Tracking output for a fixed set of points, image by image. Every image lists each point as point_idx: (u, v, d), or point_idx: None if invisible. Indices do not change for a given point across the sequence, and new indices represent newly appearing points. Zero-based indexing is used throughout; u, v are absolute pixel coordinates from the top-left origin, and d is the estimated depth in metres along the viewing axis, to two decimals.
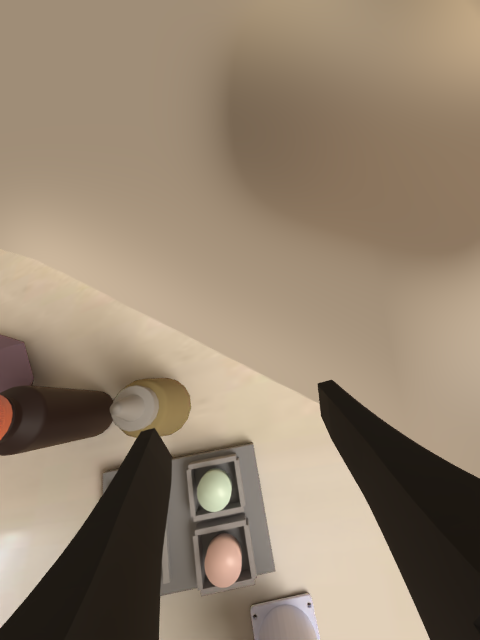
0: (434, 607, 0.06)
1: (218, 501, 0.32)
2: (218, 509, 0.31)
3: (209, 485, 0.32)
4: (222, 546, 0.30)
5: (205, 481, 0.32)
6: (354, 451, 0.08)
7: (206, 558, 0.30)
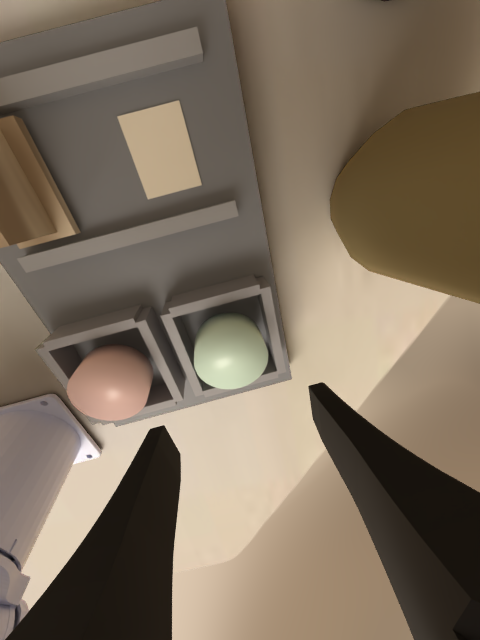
0: (418, 611, 0.06)
1: (214, 371, 0.15)
2: (200, 373, 0.15)
3: (242, 350, 0.15)
4: (137, 388, 0.15)
5: (249, 342, 0.14)
6: (343, 454, 0.08)
7: (107, 365, 0.14)
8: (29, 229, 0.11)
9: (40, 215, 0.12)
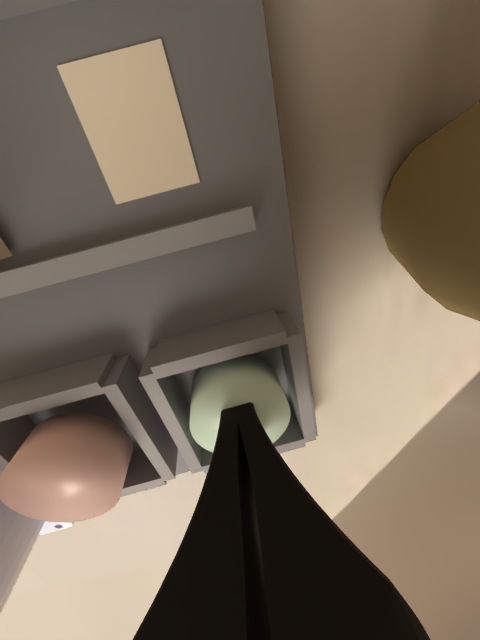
0: None
1: None
2: (198, 438, 0.11)
3: (256, 410, 0.11)
4: (105, 483, 0.10)
5: (266, 399, 0.10)
6: None
7: (55, 458, 0.09)
8: None
9: None
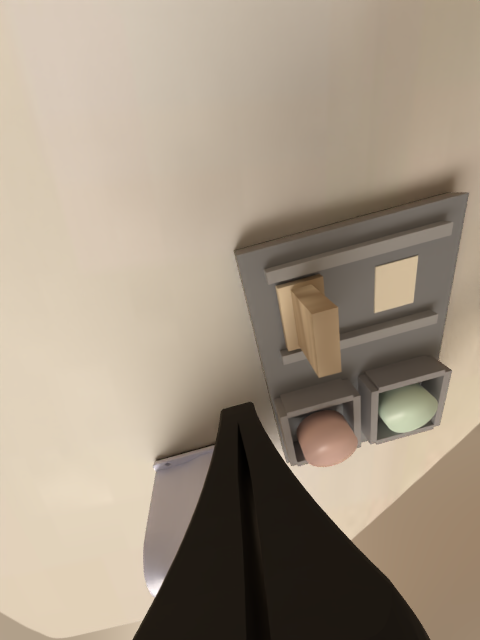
0: None
1: (398, 421, 0.21)
2: (389, 423, 0.21)
3: (421, 408, 0.21)
4: (351, 445, 0.20)
5: (428, 402, 0.20)
6: None
7: (340, 431, 0.19)
8: None
9: None
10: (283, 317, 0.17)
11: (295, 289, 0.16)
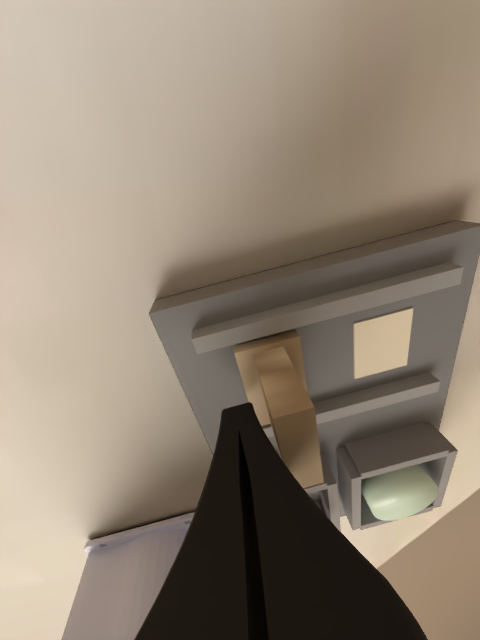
0: None
1: (387, 510, 0.16)
2: (375, 512, 0.16)
3: (418, 495, 0.16)
4: None
5: (426, 488, 0.16)
6: None
7: None
8: None
9: None
10: (245, 388, 0.12)
11: (260, 355, 0.11)
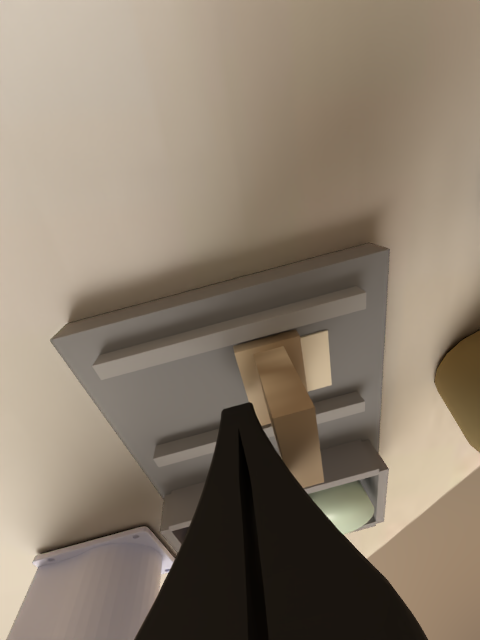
0: None
1: None
2: None
3: (352, 512, 0.16)
4: None
5: (360, 506, 0.16)
6: None
7: None
8: None
9: None
10: (246, 387, 0.12)
11: (260, 355, 0.11)
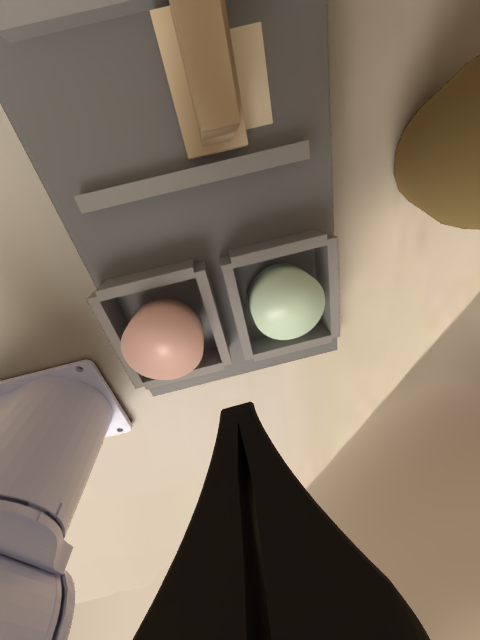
0: None
1: (271, 318, 0.15)
2: (257, 320, 0.15)
3: (301, 297, 0.15)
4: (193, 344, 0.14)
5: (309, 288, 0.14)
6: None
7: (166, 315, 0.13)
8: None
9: None
10: (169, 81, 0.11)
11: None
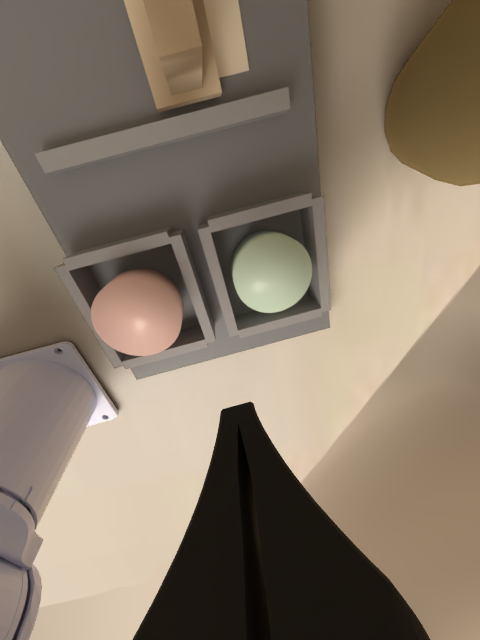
0: None
1: (254, 288, 0.14)
2: (239, 290, 0.14)
3: (285, 264, 0.14)
4: (170, 315, 0.13)
5: (294, 254, 0.13)
6: None
7: (138, 282, 0.12)
8: None
9: None
10: (130, 17, 0.10)
11: None
